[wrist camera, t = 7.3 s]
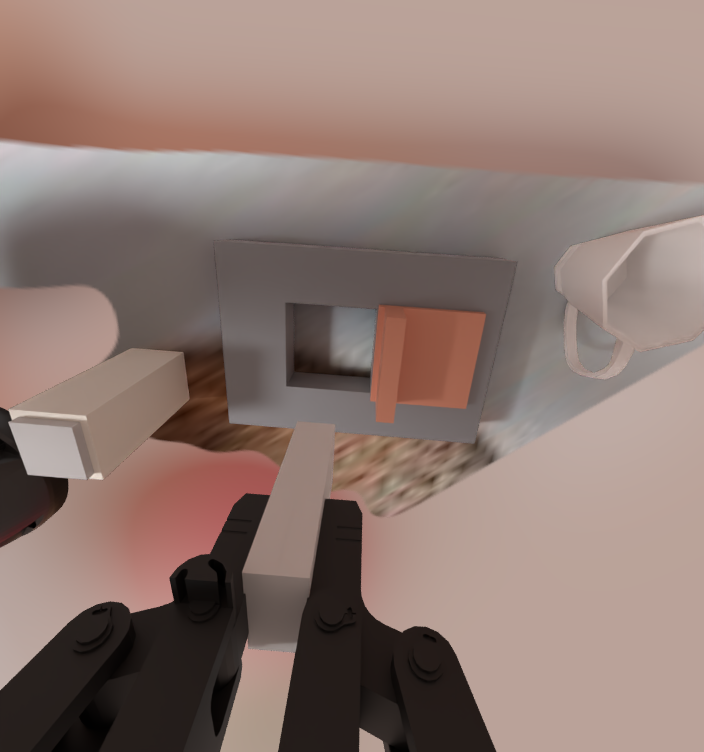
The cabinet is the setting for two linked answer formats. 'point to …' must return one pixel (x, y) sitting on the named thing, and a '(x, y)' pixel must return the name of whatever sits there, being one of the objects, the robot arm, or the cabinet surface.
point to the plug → (99, 414)
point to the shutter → (424, 358)
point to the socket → (345, 289)
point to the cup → (635, 289)
